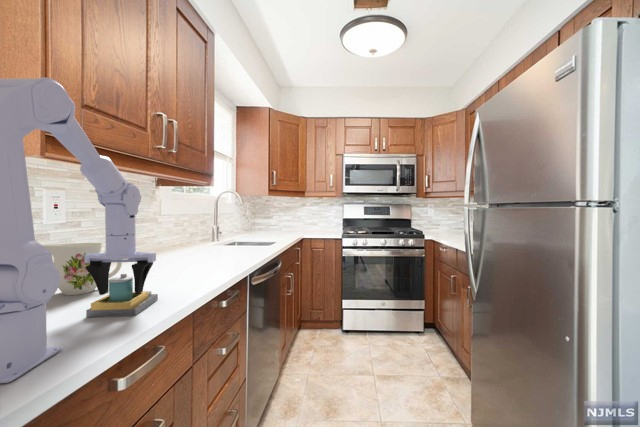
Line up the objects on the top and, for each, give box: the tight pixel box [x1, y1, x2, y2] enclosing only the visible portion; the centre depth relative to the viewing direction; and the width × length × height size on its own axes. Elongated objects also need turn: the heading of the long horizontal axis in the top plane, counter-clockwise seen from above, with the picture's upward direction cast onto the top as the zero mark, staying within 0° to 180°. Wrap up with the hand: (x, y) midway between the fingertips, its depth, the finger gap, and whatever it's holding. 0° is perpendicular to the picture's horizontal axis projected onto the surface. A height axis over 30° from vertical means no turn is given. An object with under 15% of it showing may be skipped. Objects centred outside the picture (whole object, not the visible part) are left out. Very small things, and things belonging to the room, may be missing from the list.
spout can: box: [108, 273, 134, 302], centre depth 67 cm, size 5×5×7 cm
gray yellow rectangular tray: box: [85, 290, 159, 318], centre depth 70 cm, size 13×10×3 cm
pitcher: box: [41, 242, 123, 296], centre depth 82 cm, size 11×18×14 cm, turn 136°
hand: (121, 293), depth 67 cm, fingers open, 7 cm apart
